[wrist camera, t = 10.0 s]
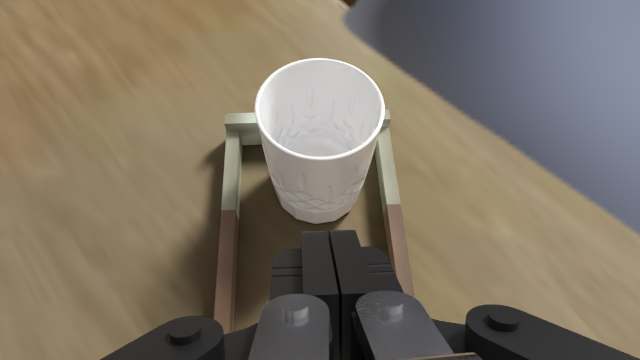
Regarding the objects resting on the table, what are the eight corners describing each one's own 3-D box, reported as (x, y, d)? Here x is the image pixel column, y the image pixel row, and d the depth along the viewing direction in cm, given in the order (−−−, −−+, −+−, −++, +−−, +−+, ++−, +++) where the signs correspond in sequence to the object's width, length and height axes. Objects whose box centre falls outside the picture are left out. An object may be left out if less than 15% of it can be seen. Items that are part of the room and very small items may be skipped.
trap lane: (210, 462, 27) (200, 464, 24) (231, 135, 38) (225, 113, 36) (430, 450, 27) (442, 450, 25) (383, 131, 39) (388, 109, 36)
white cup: (254, 216, 35) (235, 141, 26) (285, 135, 39) (278, 47, 30) (354, 243, 34) (369, 174, 25) (376, 157, 38) (395, 72, 29)
